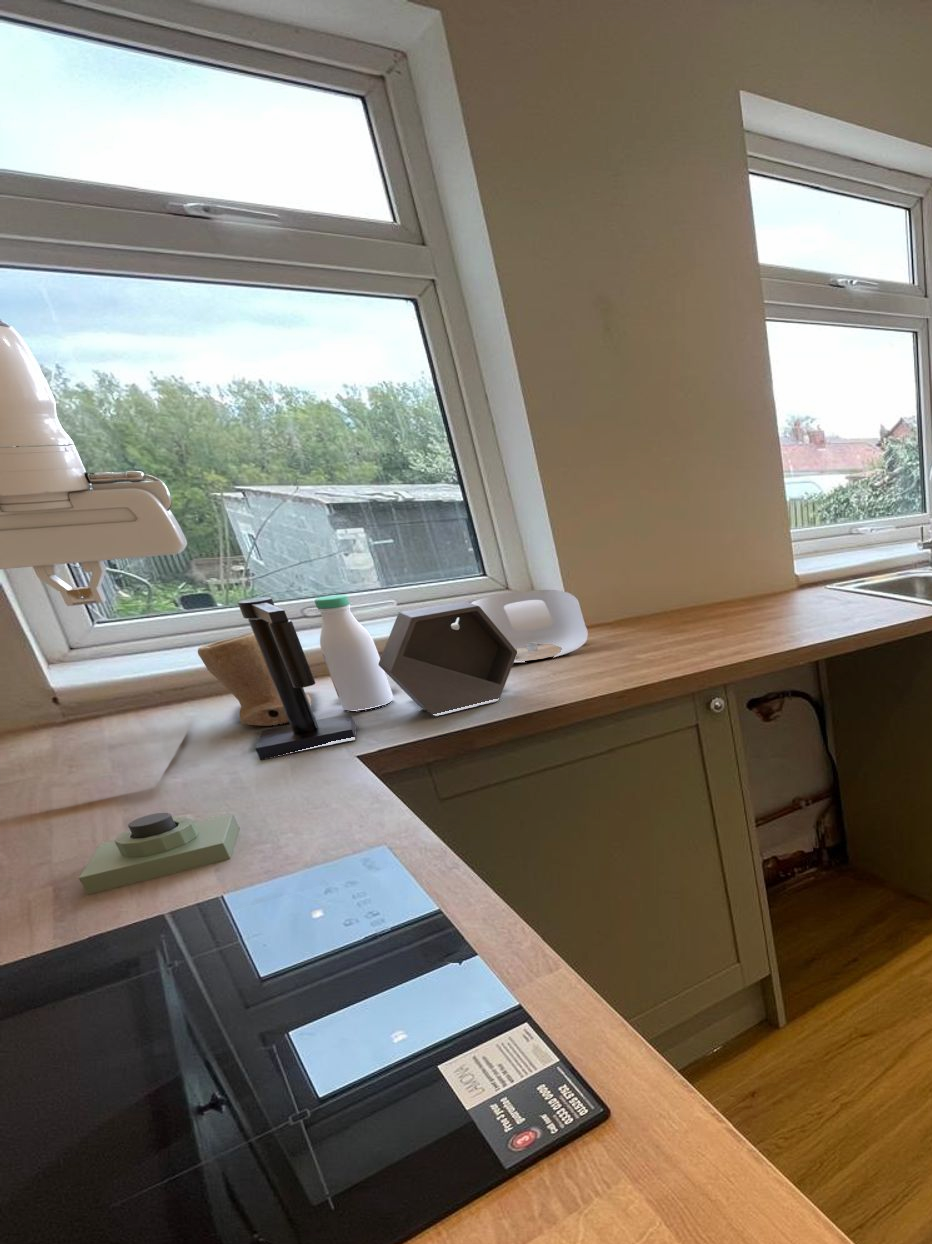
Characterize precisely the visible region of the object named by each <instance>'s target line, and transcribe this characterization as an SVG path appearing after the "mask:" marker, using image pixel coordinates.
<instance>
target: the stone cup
mask: <svg viewBox="0 0 932 1244" xmlns="http://www.w3.org/2000/svg"><path fill="white" fill-rule="evenodd" d="M197 655H198V656H199V658H200V660H201V662H203V664H204V666H205V668H206V670H207V671H208V672H209V673H210V674H211V675H212V676H214V678H215V679H216V680H218V681H219V682H220V684H222V685H223V687H224V688H225V689H227V691H228V692H230V693H231V695H233V696H234V698H236V700H237V701H238V702H239V705H240V709H239V722H240V723H241V724H242V725H249V726H263V727H270V726H271V727H272V725H273V726H279V725H278V724H280V725H284V724H287V723H289V720H288V718H287V715H286V713H285V710H284V708H283V705H282V703H281V700H280V698H279V695H278V693H277V690H276V688H275V685H274V683H273V680H272V678H271V675H270V673H269V670H268V668H267V665H266V663H265V660H264V658H263V656H262V653H261V651H260V648H259V646H258V643H257V641H256V638H255V636H254V633H253V632H247V633H244V634H241V635H236V636H234V637H230V638H225V639H221V640H217V641H214V642H209V643H207V644H204V645H201V646H200V647H199V648H198V649H197ZM305 694H306V696H307V699H308V702H309V704H310V707H311V708H312V699H311V696H310V695H309V694H308V693H306V692H305ZM283 723H284V724H283Z"/></svg>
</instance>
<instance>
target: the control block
mask: <svg viewBox="0 0 932 1244" xmlns="http://www.w3.org/2000/svg"><path fill="white" fill-rule="evenodd" d="M172 818H173V820H174V822H175V824H176V826H177V827H176V828H174V829H172V830H170V831H167V832H165V833H162V834H159V835H155V836H151V837H146V838H138V839H135V838H134V837H133V835H132V833H131V831H130V829H128V830H126V831H124V832H122V833H120V834H119V835H117V836H116V838H115V840H114V839H113V840H110V841H106V842H102V843H99V846H98V847H97V848H96V850H95V851H94V853H93V855H92V856H91V858H90V859H89V861H88V862H87V864H86V866H85V867H84V869H83V870H82V872H81V874H80V875H79V877H78V880H79V881H80V883H81V885H82V887H83V889H84V891H85V892H86V894H87V895H92V894H96V893H100V892H104V891H108V890H113V889H116V888H120V887H124V886H128V885H132V884H136V883H140V882H144V881H148V880H153V879H156V878H159V877H160V878H161V877H164V876H168V875H172V874H177V873H179V872H184V871H187V870H191V869H196V868H200V867H203V866H209V865H212V864H215V863H219V862H223V861H227V860H231V858H232V855H233V852H234V848H235V845H236V841H237V838H238V835H239V832H240V826H239V824H238V821H237V819H236V817H235V815H234V814H233V813H229V814H225V815H224V814H223V815H220V816H216V817H212V818H211V817H210V818H207V819H202V820H198V821H195V820H194V819H193V818H191V817H187V816H177V817H176V816H175V817H172Z"/></svg>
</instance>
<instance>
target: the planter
mask: <svg viewBox="0 0 932 1244" xmlns="http://www.w3.org/2000/svg"><path fill="white" fill-rule="evenodd" d="M457 619H458V621H457ZM456 622H457V625H458V628H456V629H454V628H453V627H452V624H456ZM516 655H517V650H516V649H515V648H514V647H513V646H512V644H511V643H510V642H509V641H508V640H507V638H506V637H505V636H504V635H503V634H502V633H501V631H500V630H499V629H498V628H497V627H496V625H495V624H494V623H493V622H492V621H491V619H490V618H489V617H488V616H487V615H486V613H485V612H484V611H483V610H482V609H481V607H480V606H477V605H474V604H472V602H469V601H466V600H461V601H454V602H448V603H442V604H437V605H430V606H425V607H418V608H413V609H407V610H400V611H398V614H397V615H396V618H395V620H394V623H393V626H392V628H391V631H390V634H389V636H388V638H387V642H386V644H385V645H384V648H383V651H382V654H381V656H380V661H379V664H378V665H379V666H380V667H381V668H382V669H383V670H384V671H385V674H386V675H387V676H388V677H389V678H391V679H392V681H394V682H395V684H396V685H397V686H398V687H399V688H400V689H401V690H402V691H403V692H404V693H405V694H406V695H407V696H408V697H409V698H410V699H411V700H412V701H413V702H414V703H415V704H416V705H417V706H418V707H419V706H420V707H421V708H420V707H419V708H420V709H422V708H423V709H424V710H423V709H422V710H423V711H425V710H426V711H427V712H426V711H425V712H426V713H428V712H429V713H428V714H429V715H431V714H432V715H431V716H433V714H437V713H441V712H445V711H449V710H453V709H457V708H461V707H465V706H469V705H473V704H477V703H481V702H485V701H489V700H493V699H498V698H500V699H501V696H502V694H503V692H504V688H505V686H506V683H507V681H508V678H509V676H510V673H511V670H512V668H513V665H514V663H515V662H514V660H515V658H516Z"/></svg>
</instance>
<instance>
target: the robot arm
mask: <svg viewBox="0 0 932 1244" xmlns="http://www.w3.org/2000/svg"><path fill="white" fill-rule="evenodd" d="M146 479H148V480H146ZM172 506H173V498H172V496H171V494H170V491H169V488H168V487H167V485H166V484H165V483H164V482H163V480H161V479H159V478H158V477H156V476H154V475H151V474H144V472H143V471H138V470H137V471H136V470H131V471H129V470H128V471H125V472H108V471H107V472H87V470H86V468H85V465H84V464H83V461H82V459H81V457H80V454H79V452H78V450H77V447H76V446H75V442H74V441H73V439H72V438H71V437H70V436H69V435H68V434H67V432H66V431H65V430H64V428H63V427H62V424H61V423H60V421H59V418H58V415H57V404H56V399H55V398H54V395H53V393H52V391H51V388H50V386H49V384H48V381H47V379H46V377H45V376H44V374H43V372H42V370H41V368H40V366H39V364H38V361H37V360H36V358H35V357H34V355H33V353H32V352H31V350H30V348H29V346H28V345H27V343H26V342H25V341H24V339H23V338H22V337H21V335H20V334H19V333H18V331H17V330H15V328H14V327H13V326H11V325H10V324H9V323H8V322H6V321H4V320H2V319H1V318H0V570H9V569H10V570H11V569H20V568H31V567H32V568H33V571H34V572H35V575H36V577H37V578H38V579H39V580H41V581H42V582H44V583H46V584H47V585H48V586H50V587H52V588H53V589H54V590H56V592H59V593H60V595H61V597H62V599H63V601H64V603H65V605H66V606H67V607H74V606H82V605H92V604H100V603H101V604H103V603H105V602H106V601H107V598H106V596H105V593H104V591H103V589H102V587H101V586H102V584H103V581H104V578H105V575H106V572H107V566H106V564H105V562H104V561H112V560H113V561H114V560H125V559H136V558H137V559H138V558H148V557H159V556H160V557H161V556H171V555H178V554H181V553H182V552H184V551H185V549H186V548H187V546H188V541H187V538H186V536H185V534H184V532H183V530H182V528H181V526H180V524H179V522H178V520H177V519H176V516H175V515H174V514H173V512H172V511H171V508H172ZM79 563H80V565H81V567H82V569H83V571H84V573H91V576H90V579H89V583H88V585H87V586H79V587H77V586H76V587H72V586H71V585H69V584H68V583H67V582H65V581H64V580H63V579H61V578H60V577H58V576H57V575H58V574H60V573H61V570H60V568H59V566H58V565H68V564H79Z"/></svg>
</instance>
